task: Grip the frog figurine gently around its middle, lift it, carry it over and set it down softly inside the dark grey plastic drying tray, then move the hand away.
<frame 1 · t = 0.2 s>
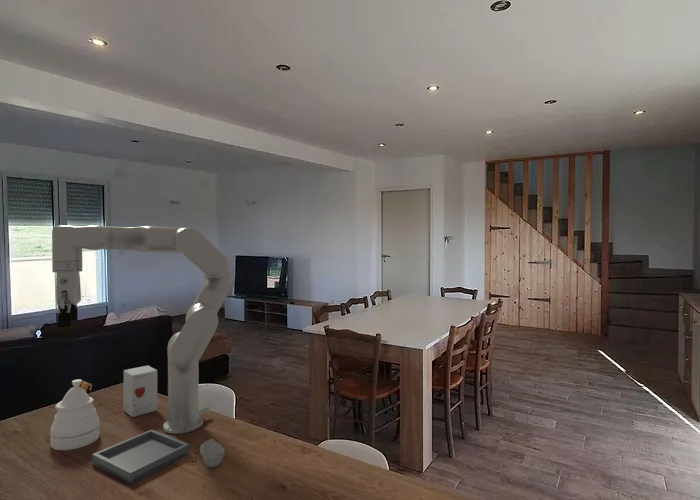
hand: (68, 323, 127), 37 cm above the table, tool pointing down, fingers open, 9 cm apart
frog figurine: (212, 466, 117), on the table
honey pot: (75, 440, 131), on the table
drying tray: (142, 458, 120), on the table
figurine: (80, 414, 150), on the table
supplement box: (140, 411, 154), on the table
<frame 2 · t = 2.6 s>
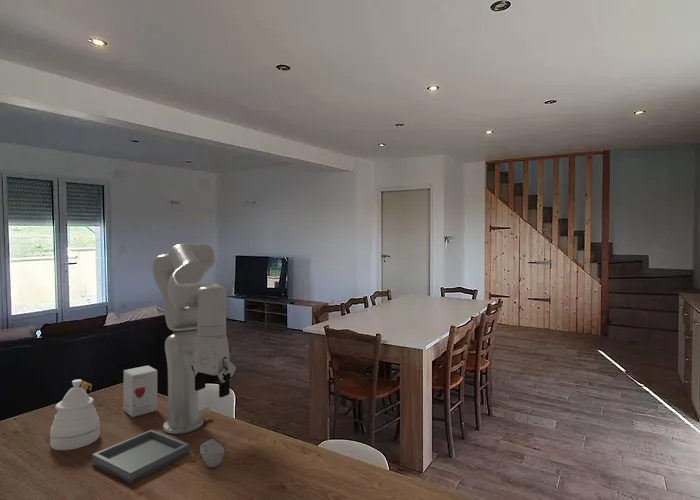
hand: (212, 392, 116), 21 cm above the table, tool pointing down, fingers open, 9 cm apart
nothing on the table moved.
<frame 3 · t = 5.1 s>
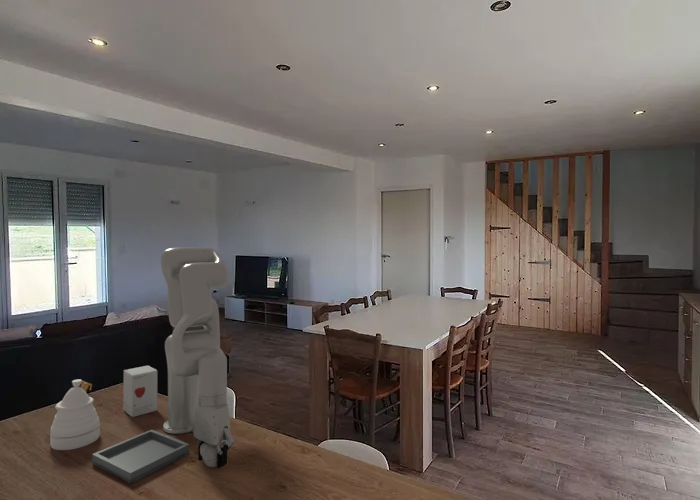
hand: (212, 461, 117), 1 cm above the table, tool pointing down, fingers closed on frog figurine, 6 cm apart
frog figurine: (212, 466, 117), on the table, touching gripper
everything else where it was.
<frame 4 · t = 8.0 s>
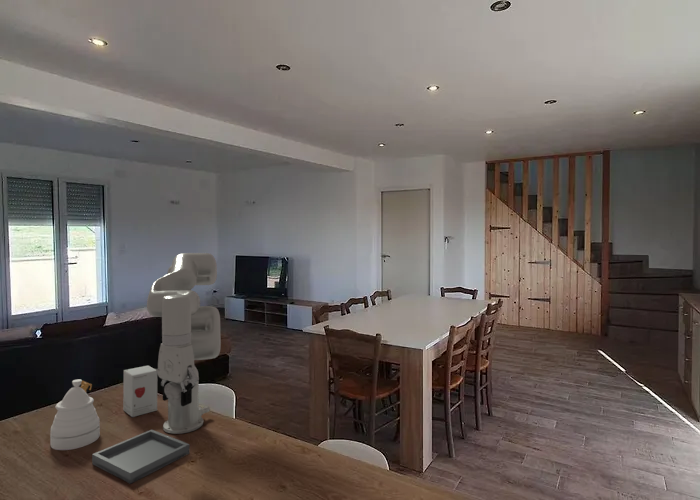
hand: (177, 401, 119), 17 cm above the table, tool pointing down, fingers closed on frog figurine, 6 cm apart
frog figurine: (177, 405, 119), point 16 cm above the table, touching gripper
everything else where it was.
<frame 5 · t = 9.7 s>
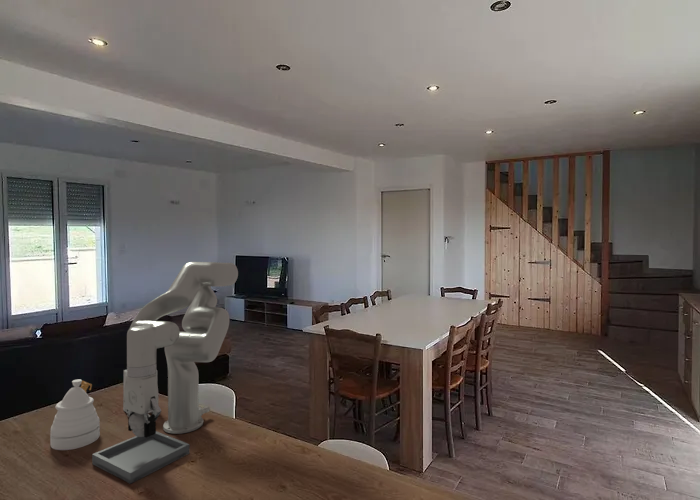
hand: (141, 431, 120), 8 cm above the table, tool pointing down, fingers closed on frog figurine, 6 cm apart
frog figurine: (141, 436, 120), point 6 cm above the table, touching gripper
everything else where it was.
when the fingers open (4 cm above the table, at t = 11.1 s): frog figurine drops 1 cm, resting on drying tray.
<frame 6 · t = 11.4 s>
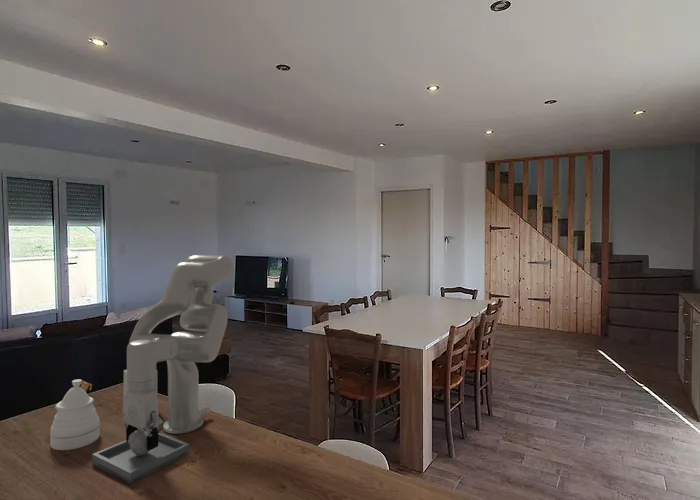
hand: (142, 443, 120), 4 cm above the table, tool pointing down, fingers open, 9 cm apart
frog figurine: (141, 455, 121), point 1 cm above the table, touching drying tray
everything else where it was.
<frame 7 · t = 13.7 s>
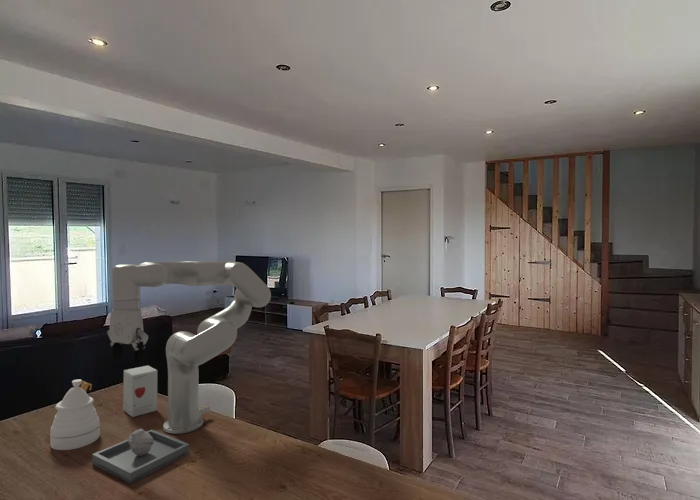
hand: (127, 360, 129), 25 cm above the table, tool pointing down, fingers open, 9 cm apart
nothing on the table moved.
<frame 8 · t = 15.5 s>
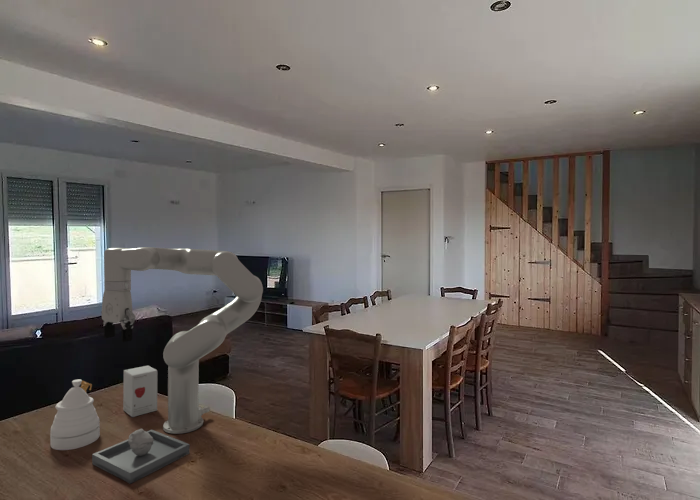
hand: (118, 339, 136), 30 cm above the table, tool pointing down, fingers open, 9 cm apart
nothing on the table moved.
at the end: frog figurine inside the target area on the drying tray (0.5 cm from its centre), point 0.8 cm above the drying tray's base; frog figurine tilted 0°; the gripper is holding nothing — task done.
